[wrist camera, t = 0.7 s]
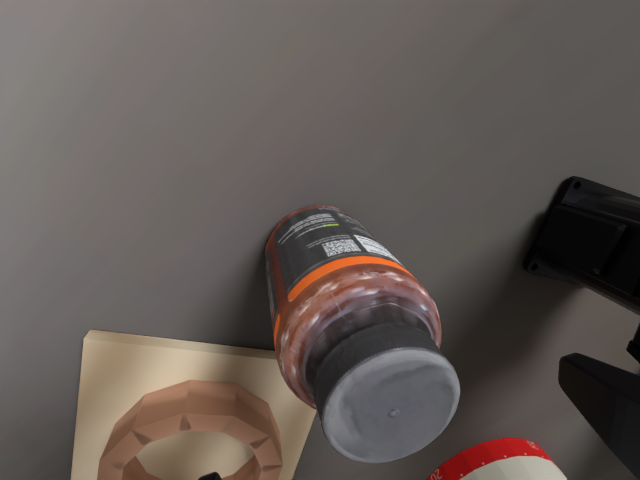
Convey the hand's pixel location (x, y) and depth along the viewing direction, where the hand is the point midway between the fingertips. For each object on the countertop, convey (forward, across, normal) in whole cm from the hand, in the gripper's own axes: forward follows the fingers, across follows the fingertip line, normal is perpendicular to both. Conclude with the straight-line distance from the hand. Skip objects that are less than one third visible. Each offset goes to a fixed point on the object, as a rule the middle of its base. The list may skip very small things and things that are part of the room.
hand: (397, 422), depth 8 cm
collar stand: (+12, +10, +10) cm, 19 cm away
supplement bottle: (+12, 0, 0) cm, 12 cm away
